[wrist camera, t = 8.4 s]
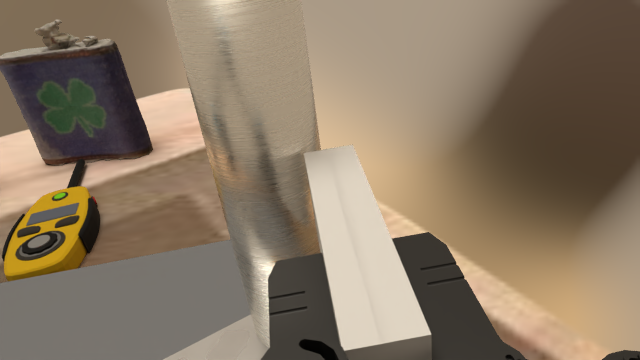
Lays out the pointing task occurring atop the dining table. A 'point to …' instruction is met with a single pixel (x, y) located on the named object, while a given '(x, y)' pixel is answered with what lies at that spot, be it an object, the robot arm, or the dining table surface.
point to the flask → (76, 99)
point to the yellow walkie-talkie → (53, 232)
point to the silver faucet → (252, 144)
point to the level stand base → (123, 307)
